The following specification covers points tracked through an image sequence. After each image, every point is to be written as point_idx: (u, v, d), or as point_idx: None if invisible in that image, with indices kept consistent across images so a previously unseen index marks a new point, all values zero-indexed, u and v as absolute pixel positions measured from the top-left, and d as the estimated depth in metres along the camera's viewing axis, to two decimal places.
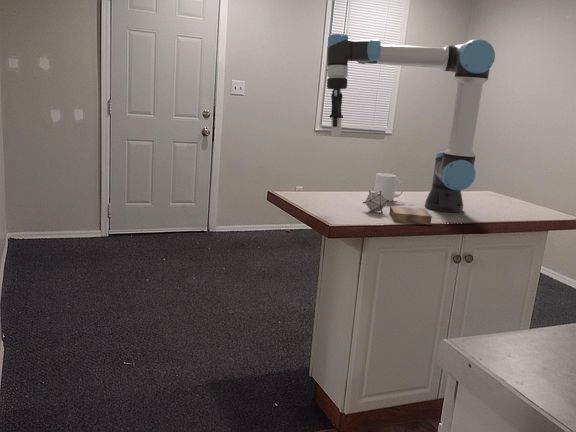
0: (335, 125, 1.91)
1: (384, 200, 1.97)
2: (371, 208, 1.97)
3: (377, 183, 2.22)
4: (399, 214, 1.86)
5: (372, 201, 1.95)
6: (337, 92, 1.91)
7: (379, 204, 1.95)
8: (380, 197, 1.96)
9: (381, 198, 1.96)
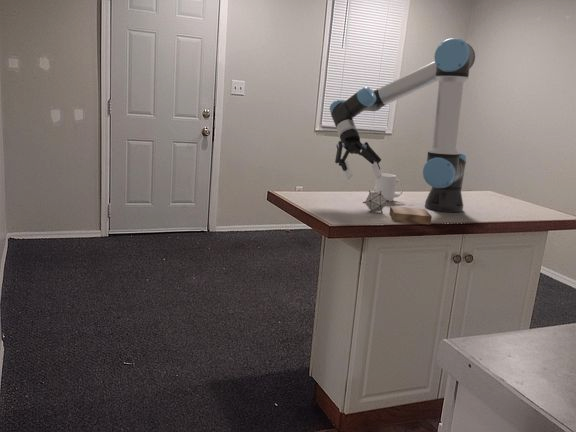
0: (343, 168, 2.01)
1: (384, 200, 1.97)
2: (371, 208, 1.97)
3: (377, 183, 2.22)
4: (399, 214, 1.86)
5: (372, 201, 1.95)
6: (338, 143, 2.07)
7: (379, 204, 1.95)
8: (380, 197, 1.96)
9: (381, 198, 1.96)
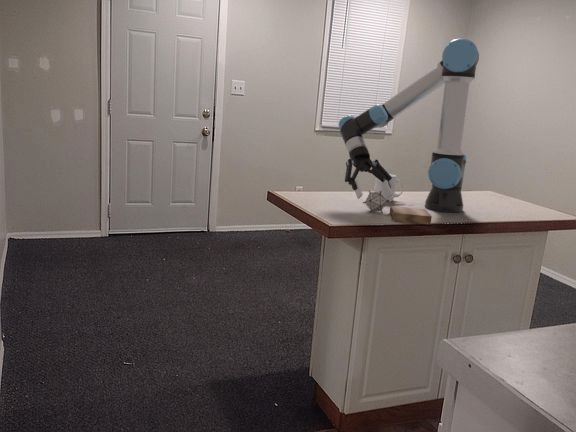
0: (353, 187, 1.96)
1: (384, 200, 1.97)
2: (371, 208, 1.97)
3: (377, 183, 2.22)
4: (399, 214, 1.86)
5: (372, 201, 1.95)
6: (348, 161, 2.01)
7: (379, 204, 1.95)
8: (380, 197, 1.96)
9: (381, 198, 1.96)
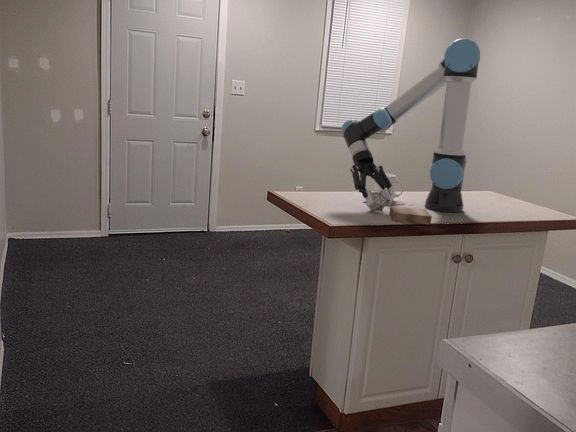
0: (364, 195, 1.95)
1: (384, 200, 1.97)
2: (371, 208, 1.97)
3: None
4: (399, 214, 1.86)
5: None
6: (352, 168, 1.99)
7: (380, 204, 1.95)
8: (380, 197, 1.96)
9: (382, 198, 1.96)
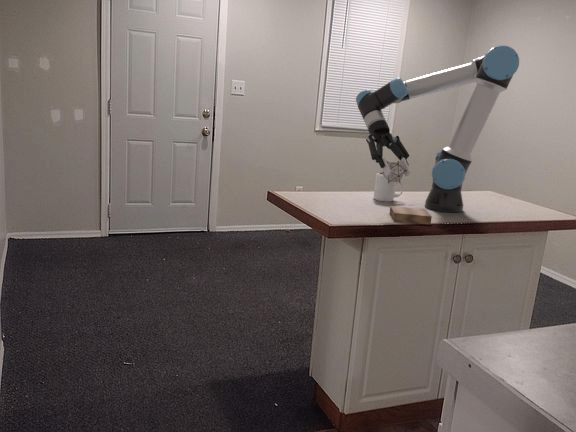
0: (381, 165, 1.89)
1: (402, 170, 1.91)
2: (389, 178, 1.91)
3: (377, 183, 2.22)
4: (399, 214, 1.86)
5: None
6: (368, 138, 1.94)
7: (397, 174, 1.89)
8: (398, 167, 1.90)
9: (400, 167, 1.90)
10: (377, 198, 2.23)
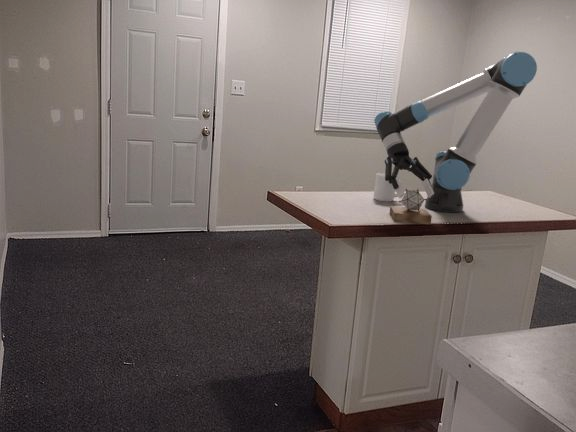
0: (395, 186, 1.86)
1: (422, 199, 1.89)
2: (408, 207, 1.89)
3: (377, 183, 2.22)
4: (399, 214, 1.86)
5: (409, 200, 1.87)
6: (387, 159, 1.91)
7: (417, 203, 1.87)
8: (418, 195, 1.88)
9: (419, 196, 1.88)
10: (377, 198, 2.23)
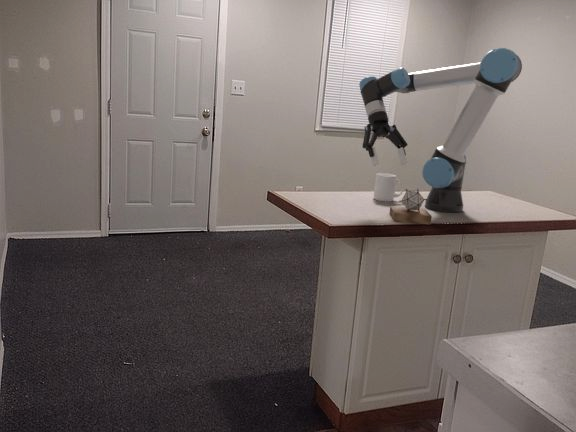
0: (370, 155, 1.99)
1: (422, 199, 1.89)
2: (408, 207, 1.89)
3: (377, 183, 2.22)
4: (399, 214, 1.86)
5: (409, 200, 1.87)
6: (367, 126, 2.02)
7: (417, 203, 1.87)
8: (418, 195, 1.88)
9: (419, 196, 1.88)
10: (377, 198, 2.23)
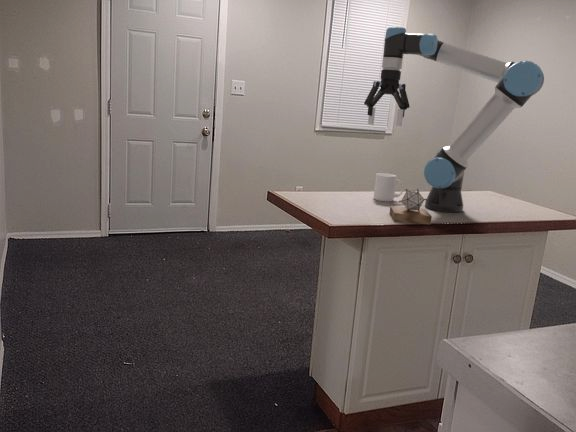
0: (368, 114, 2.04)
1: (422, 199, 1.89)
2: (408, 207, 1.89)
3: (377, 183, 2.22)
4: (399, 214, 1.86)
5: (409, 200, 1.87)
6: (376, 83, 2.02)
7: (417, 203, 1.87)
8: (418, 195, 1.88)
9: (419, 196, 1.88)
10: (377, 198, 2.23)
